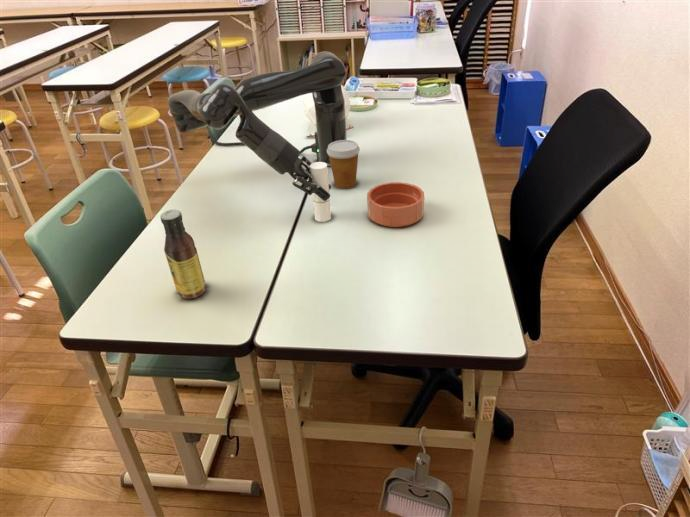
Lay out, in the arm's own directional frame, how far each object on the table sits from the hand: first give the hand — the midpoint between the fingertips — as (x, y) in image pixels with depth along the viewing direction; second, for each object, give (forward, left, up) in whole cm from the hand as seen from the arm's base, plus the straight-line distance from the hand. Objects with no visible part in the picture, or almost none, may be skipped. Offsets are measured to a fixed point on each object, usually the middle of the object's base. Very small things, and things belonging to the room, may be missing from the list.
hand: (328, 193), depth 134 cm
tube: (-2, -1, -7) cm, 8 cm away
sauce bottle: (-4, -42, -7) cm, 43 cm away
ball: (-44, +50, -7) cm, 67 cm away
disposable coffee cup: (-10, +18, -7) cm, 21 cm away
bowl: (+13, +11, -7) cm, 19 cm away
